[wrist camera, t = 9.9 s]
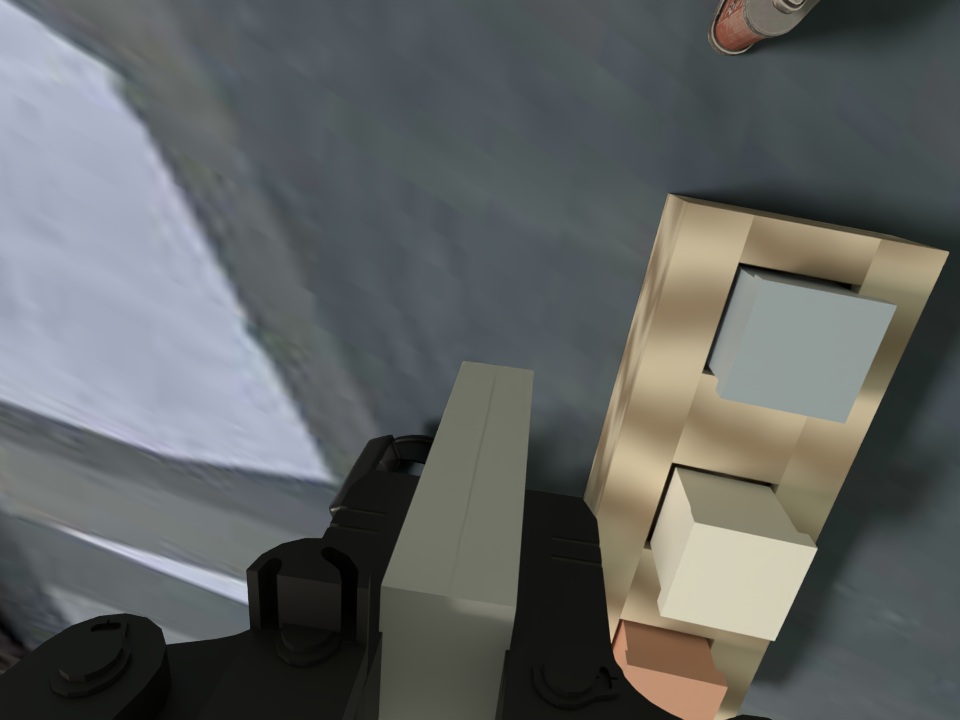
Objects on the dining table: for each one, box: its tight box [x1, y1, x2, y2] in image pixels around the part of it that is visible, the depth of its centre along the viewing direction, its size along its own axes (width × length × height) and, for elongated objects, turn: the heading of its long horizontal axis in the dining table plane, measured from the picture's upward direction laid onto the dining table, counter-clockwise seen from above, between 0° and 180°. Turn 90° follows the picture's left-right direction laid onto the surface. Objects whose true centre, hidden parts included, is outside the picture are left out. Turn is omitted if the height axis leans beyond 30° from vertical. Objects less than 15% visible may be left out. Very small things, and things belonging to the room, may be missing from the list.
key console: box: [583, 193, 949, 720], centre depth 42 cm, size 38×14×6 cm, turn 170°
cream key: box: [650, 467, 818, 641], centre depth 36 cm, size 7×7×6 cm
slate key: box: [706, 263, 897, 424], centre depth 34 cm, size 7×7×6 cm
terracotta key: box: [611, 619, 728, 720], centre depth 43 cm, size 7×7×6 cm
